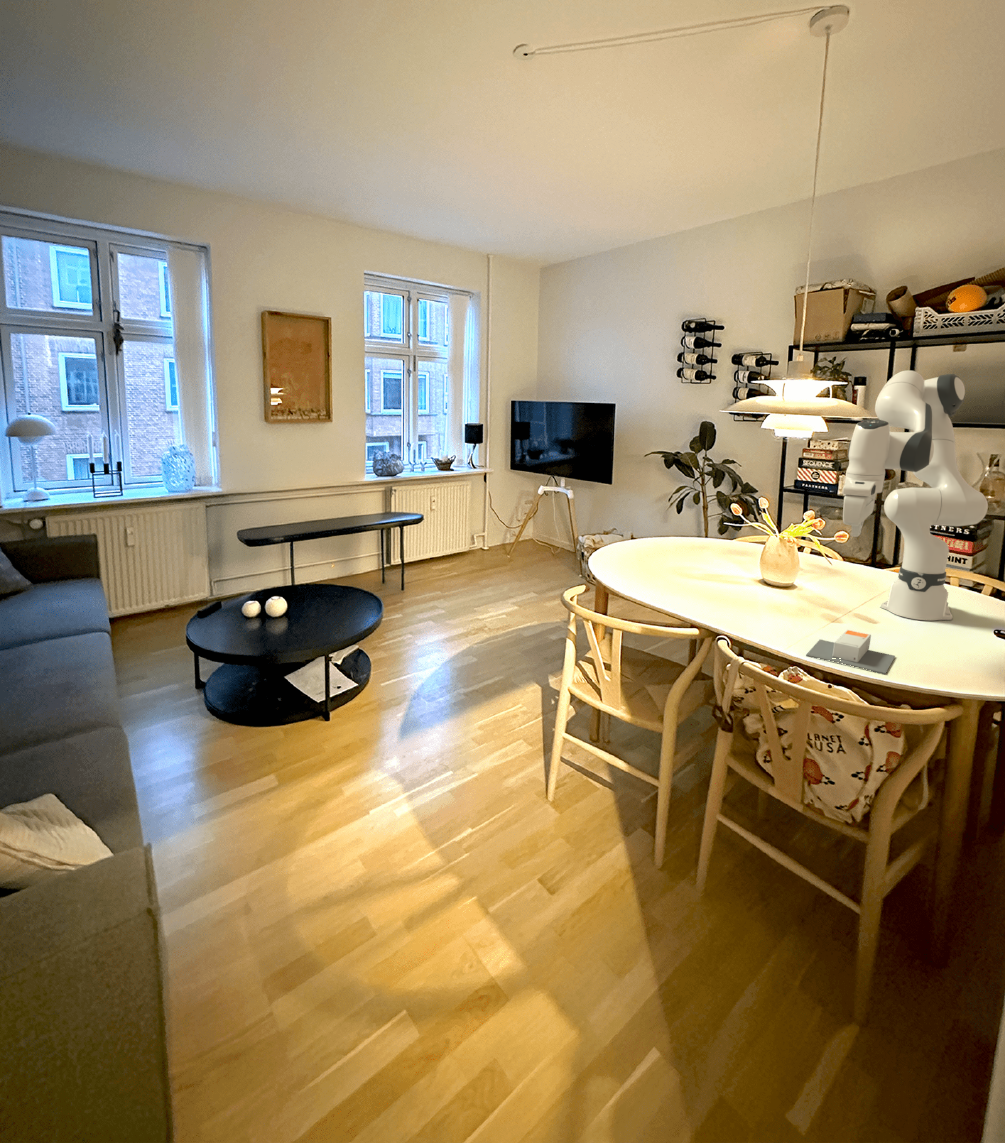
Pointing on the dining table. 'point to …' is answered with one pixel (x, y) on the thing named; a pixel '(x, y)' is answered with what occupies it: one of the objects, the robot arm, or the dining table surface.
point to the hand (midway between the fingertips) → (855, 535)
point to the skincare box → (851, 645)
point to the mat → (868, 661)
